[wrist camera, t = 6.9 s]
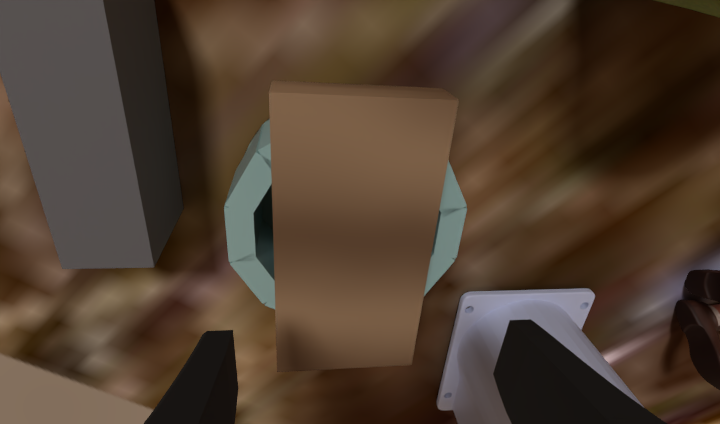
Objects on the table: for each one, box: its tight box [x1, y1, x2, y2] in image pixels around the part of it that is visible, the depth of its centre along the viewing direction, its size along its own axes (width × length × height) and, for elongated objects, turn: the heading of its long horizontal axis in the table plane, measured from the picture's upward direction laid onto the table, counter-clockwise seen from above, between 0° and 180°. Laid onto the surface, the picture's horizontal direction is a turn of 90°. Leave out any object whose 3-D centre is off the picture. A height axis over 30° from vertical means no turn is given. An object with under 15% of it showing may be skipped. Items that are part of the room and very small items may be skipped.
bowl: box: [224, 118, 467, 309], centre depth 18 cm, size 9×9×4 cm
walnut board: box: [269, 81, 459, 372], centre depth 15 cm, size 11×6×2 cm, turn 175°
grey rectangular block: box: [0, 0, 184, 269], centre depth 15 cm, size 10×3×4 cm, turn 175°
